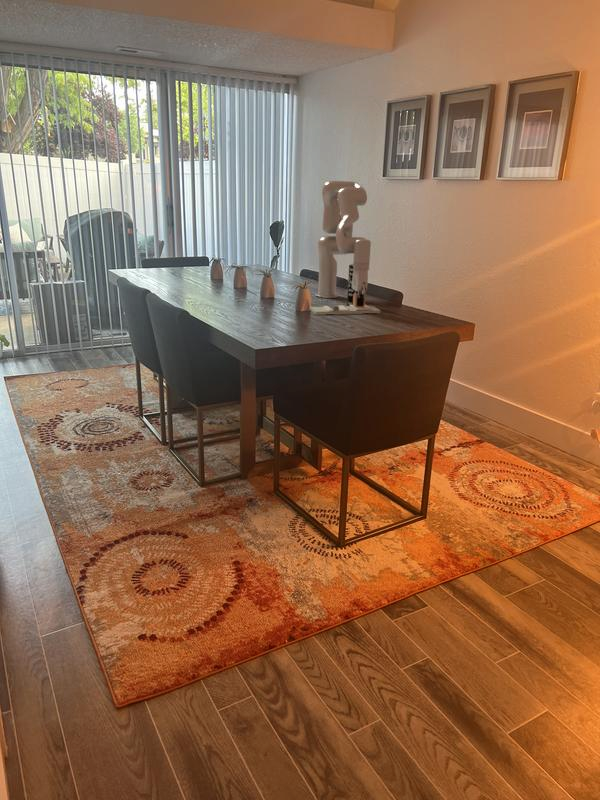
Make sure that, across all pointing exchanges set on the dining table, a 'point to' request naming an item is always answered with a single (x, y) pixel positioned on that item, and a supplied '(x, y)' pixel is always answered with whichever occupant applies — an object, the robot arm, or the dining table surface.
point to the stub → (359, 306)
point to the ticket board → (340, 309)
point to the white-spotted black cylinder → (350, 287)
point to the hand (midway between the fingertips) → (358, 304)
